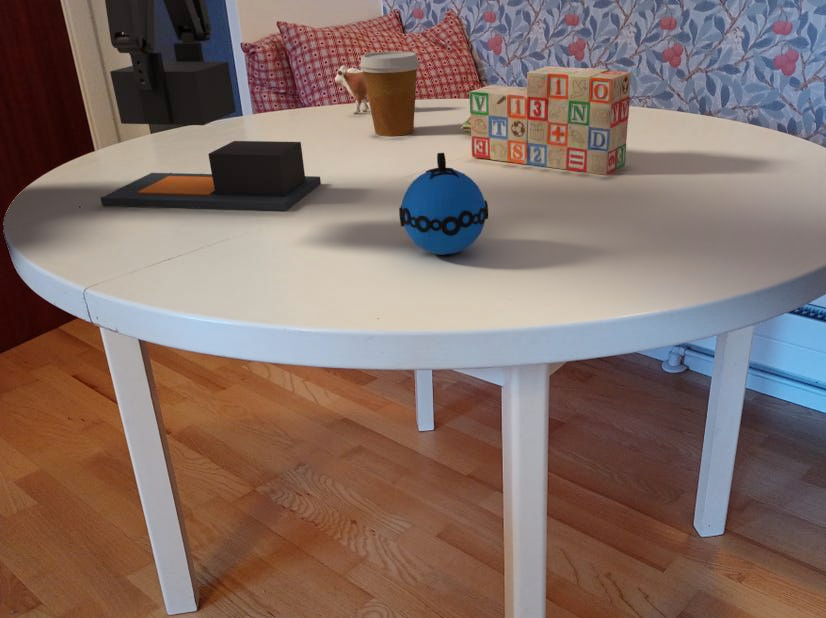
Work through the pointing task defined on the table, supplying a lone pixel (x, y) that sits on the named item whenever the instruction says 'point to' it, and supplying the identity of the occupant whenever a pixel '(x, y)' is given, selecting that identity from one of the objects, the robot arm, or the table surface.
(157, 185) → the pad base
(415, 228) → the ornament
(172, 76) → the loose block
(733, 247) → the table surface
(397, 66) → the disposable coffee cup
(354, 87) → the bull figurine
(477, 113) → the stack of blocks
